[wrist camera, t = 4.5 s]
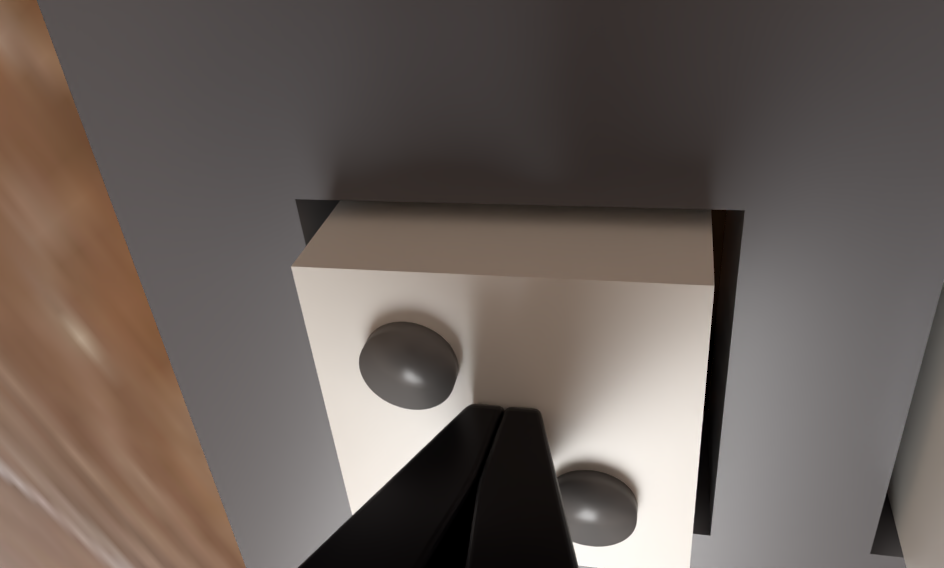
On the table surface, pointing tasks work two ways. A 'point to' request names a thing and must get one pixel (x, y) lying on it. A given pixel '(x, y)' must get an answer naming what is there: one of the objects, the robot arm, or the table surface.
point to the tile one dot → (923, 460)
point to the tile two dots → (523, 350)
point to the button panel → (540, 183)
